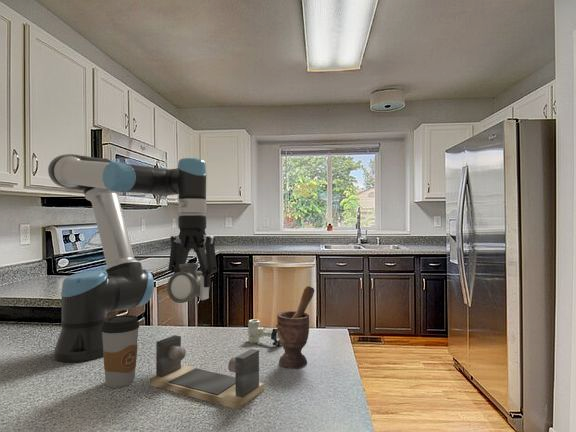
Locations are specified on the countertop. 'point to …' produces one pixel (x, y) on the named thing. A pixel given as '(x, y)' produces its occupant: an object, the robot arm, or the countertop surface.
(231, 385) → the shaft bed
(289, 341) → the mortar and pestle
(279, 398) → the countertop surface
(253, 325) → the valve
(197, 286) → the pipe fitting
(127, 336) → the coffee cup
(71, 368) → the countertop surface
